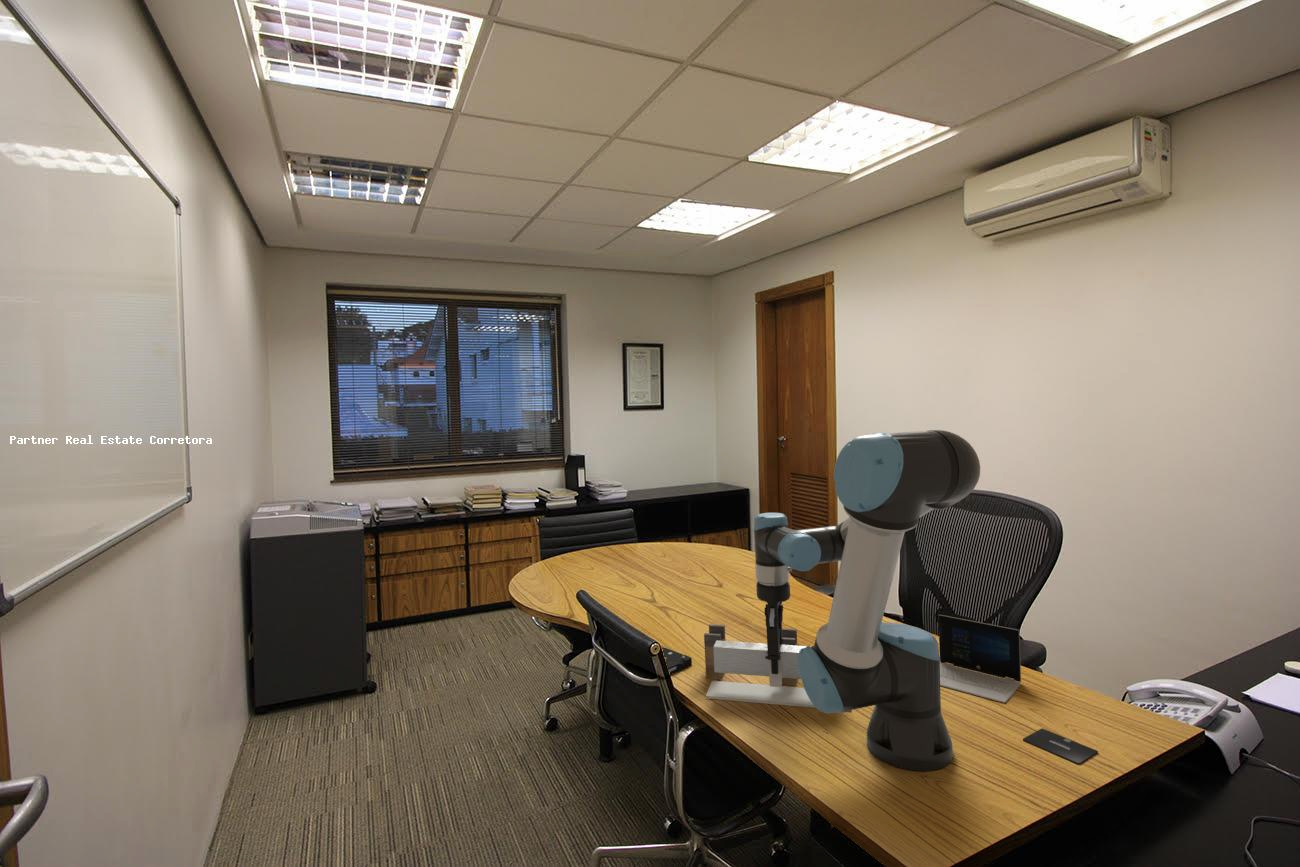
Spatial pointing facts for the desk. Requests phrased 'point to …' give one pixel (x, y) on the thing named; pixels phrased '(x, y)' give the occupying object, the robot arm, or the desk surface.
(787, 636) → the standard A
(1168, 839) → the desk surface
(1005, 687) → the laptop
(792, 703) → the mat
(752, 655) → the rail
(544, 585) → the desk surface
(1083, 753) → the solid state drive
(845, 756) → the desk surface
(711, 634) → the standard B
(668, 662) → the disk drive
